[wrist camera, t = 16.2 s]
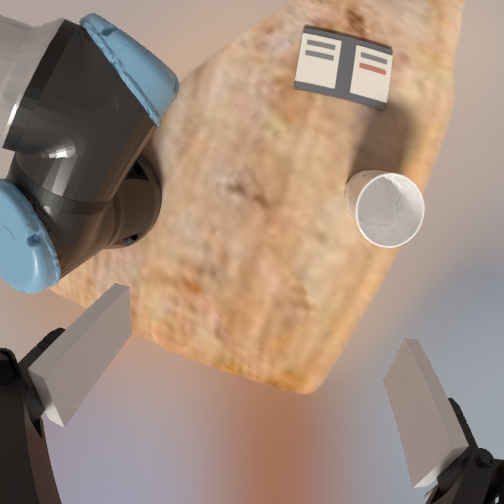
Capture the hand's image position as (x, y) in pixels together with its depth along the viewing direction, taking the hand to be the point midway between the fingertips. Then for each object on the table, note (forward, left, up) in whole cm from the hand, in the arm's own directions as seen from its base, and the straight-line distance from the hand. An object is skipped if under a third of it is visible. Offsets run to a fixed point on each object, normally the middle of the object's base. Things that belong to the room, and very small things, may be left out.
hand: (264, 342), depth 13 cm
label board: (+5, +20, -29) cm, 36 cm away
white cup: (+11, +4, -29) cm, 31 cm away
